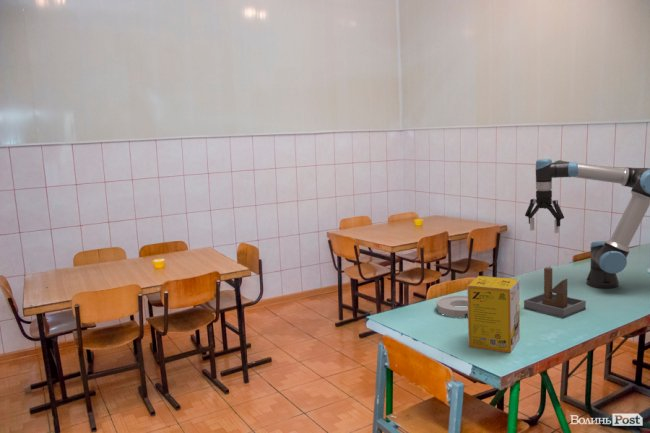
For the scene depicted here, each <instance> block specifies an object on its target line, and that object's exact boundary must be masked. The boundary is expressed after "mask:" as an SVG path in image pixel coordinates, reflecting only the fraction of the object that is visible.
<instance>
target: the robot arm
mask: <svg viewBox="0 0 650 433" xmlns="http://www.w3.org/2000/svg"><path fill="white" fill-rule="evenodd" d="M553 178H554V179H555V178H577V179H584V180H591V181H599V182H606V183H614V184H620V185H621V186H622V187H626V188H631V190H630V193H631V198H630V200H629V201H628V204H627V206H626V207H625V210H624V211H623V213H622V215H621V217H620V220H619V221H618V223H617V226H616V227H615V229H614V232H613V233H612V236H611V237H610V239H609V240H605V241H592V242H591V243H590V270H589V273H588V275H587V278H586V284H587V285H588V286H590V287H593V288H599V289H611V288H612V289H613V288H617V287H619V286H620V285H619V283H620V282H619V281H620V280H619V278H618V275H617V274H618V273H621V272H622V271H624V269H625V268H626V267H627V264H628V262H627V261H628V260H627V257H628V256H629V254H630V249H629V246H630V244H631V243H632V240H633V238H634V236H635V235H636V232H637V230H638V229H639V227H640V224H641V223H642V221H643V219H644V217H645V215H646V213H647V211H648V209H649V207H650V168H649V167H625V168H620V167H611V166H603V165H597V164H588V163H583V162H582V163H580V162H576V161H565V160H560V159H558V160H555V161H554V162H552V159H551V158H541V159H537V160H536V162H535V189H536V191H535V198H536V199H535V198H531V199H530V202H529V205H528V207H527V209H526V212H525V214H524V216H525V217H526V218H527V219H528V224H529V231H530V232H532V231H535V217H534V216H535V214H536V213H537V212H538V211H539V210H540V209H545V210H548V211H549V212H550V214H551V215H552V216H553V217H554V220H553V221H554V222H553V223H554V234H559V233H560V226H561V220H563V219H565V216H564V214H563V211H562V209H561V206H560V205H559V200H558V199H554V200H553V199H552V197H553V191H552V189H553ZM535 204H536V205H535ZM534 206H535V207H534Z"/></svg>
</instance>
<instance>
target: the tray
mask: <svg viewBox="0 0 650 433" xmlns="http://www.w3.org/2000/svg"><path fill="white" fill-rule="evenodd" d="M543 297H544V292H543V293H541V294H537V295H535V296H533V297H529V298H527V299H524V300H523V308H524V310H529V311H533V312H536V313H541V314H545V315H548V316H552V317H557V318H560V319H566V318H568V317H570V316H572V315H575V314H578V313H581V312H583V311H585V310H586V305H587V301H586V300H583V299H580V298H579V299H578V298H575V297H570V296H567V307H566V308H564V309H561V308H557V307H553V306H548V305H544V304H542V298H543ZM552 298H556V293H552Z"/></svg>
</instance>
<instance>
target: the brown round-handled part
mask: <svg viewBox="0 0 650 433" xmlns="http://www.w3.org/2000/svg"><path fill="white" fill-rule="evenodd" d="M543 268H544V269H543V293H544V297H543V298H542V304H544V305H548V306H553V307H557V308H561V309H564V308H566V307H567V297H568V278H565V279H562V280H561V281H560V282H559V283H558V284H556V285H555V286H554V287H553V268H552V267H548V266H547V267H543ZM552 294H556V298H552Z"/></svg>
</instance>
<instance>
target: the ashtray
mask: <svg viewBox="0 0 650 433" xmlns="http://www.w3.org/2000/svg"><path fill="white" fill-rule="evenodd" d="M455 306H467V307H455ZM437 310H439V311H438V314H439V313H441V314H444V315H447V316H452V317H451V318H453V317H461V318H460V319H465V318H466V317H468V295H450V296H446V297H442V298H440V299H438V300H437V301H436V311H437ZM441 314H440V315H441ZM444 315H443V316H444ZM447 316H446V317H447Z"/></svg>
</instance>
